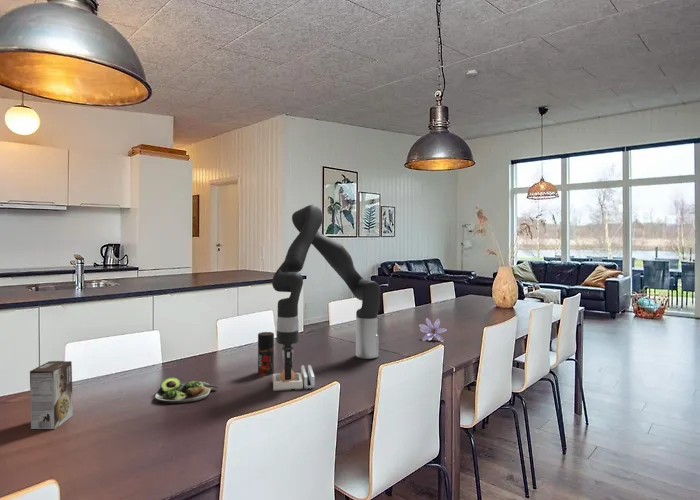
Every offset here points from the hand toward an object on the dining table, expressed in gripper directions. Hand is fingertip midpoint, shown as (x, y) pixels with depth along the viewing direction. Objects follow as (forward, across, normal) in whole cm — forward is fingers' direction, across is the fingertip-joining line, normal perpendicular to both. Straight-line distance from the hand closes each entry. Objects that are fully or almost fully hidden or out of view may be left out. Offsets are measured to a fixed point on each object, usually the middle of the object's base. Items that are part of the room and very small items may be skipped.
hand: (287, 376), depth 152 cm
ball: (+2, 0, 0) cm, 2 cm away
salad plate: (+4, -3, +34) cm, 35 cm away
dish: (+3, 0, 0) cm, 3 cm away
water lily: (+3, +55, -75) cm, 93 cm away
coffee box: (+3, -20, +66) cm, 69 cm away
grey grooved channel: (+3, +2, -7) cm, 8 cm away
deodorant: (+3, +15, +8) cm, 17 cm away
